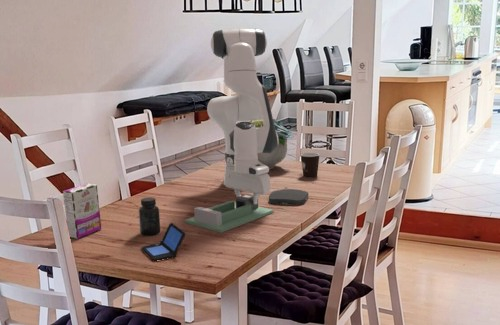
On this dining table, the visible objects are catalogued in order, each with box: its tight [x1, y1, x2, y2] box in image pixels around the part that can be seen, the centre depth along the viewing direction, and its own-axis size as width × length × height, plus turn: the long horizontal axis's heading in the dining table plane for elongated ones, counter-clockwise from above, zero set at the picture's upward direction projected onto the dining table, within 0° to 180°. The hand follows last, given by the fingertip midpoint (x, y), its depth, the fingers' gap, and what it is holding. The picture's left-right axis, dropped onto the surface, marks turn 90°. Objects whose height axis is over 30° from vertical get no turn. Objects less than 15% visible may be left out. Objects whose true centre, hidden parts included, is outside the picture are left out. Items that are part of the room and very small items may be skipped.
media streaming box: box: [268, 188, 309, 206], centre depth 238 cm, size 15×15×3 cm
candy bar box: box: [62, 182, 102, 240], centre depth 203 cm, size 11×5×16 cm, turn 148°
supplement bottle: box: [138, 197, 161, 237], centre depth 202 cm, size 7×7×12 cm
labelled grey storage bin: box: [235, 193, 259, 210], centre depth 224 cm, size 7×5×5 cm
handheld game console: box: [140, 222, 186, 262], centre depth 184 cm, size 12×11×7 cm
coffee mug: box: [300, 152, 320, 178], centre depth 276 cm, size 12×9×10 cm
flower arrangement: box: [249, 118, 295, 170], centre depth 290 cm, size 25×25×24 cm
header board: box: [184, 200, 275, 233], centre depth 217 cm, size 28×18×6 cm, turn 139°
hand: (247, 202), depth 224 cm, fingers open, 6 cm apart
